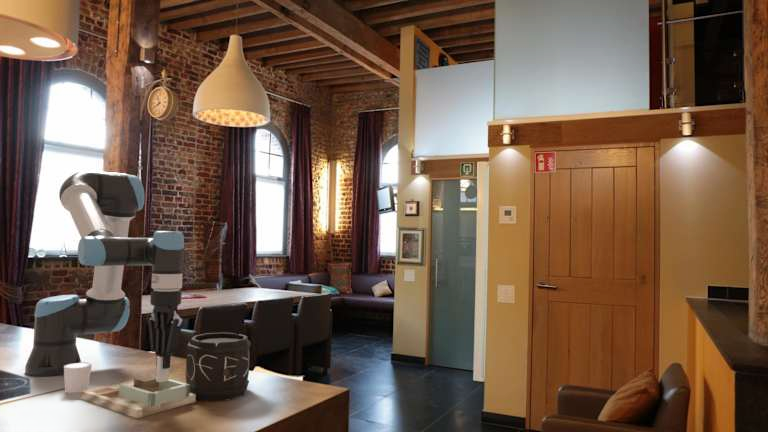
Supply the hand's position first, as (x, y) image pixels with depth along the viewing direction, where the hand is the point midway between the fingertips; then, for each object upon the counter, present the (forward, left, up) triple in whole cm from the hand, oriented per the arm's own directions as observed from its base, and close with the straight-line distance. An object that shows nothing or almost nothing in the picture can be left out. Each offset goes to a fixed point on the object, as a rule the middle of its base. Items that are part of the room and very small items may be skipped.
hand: (162, 380), depth 142 cm
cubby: (-3, 0, -5) cm, 6 cm away
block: (-7, 0, -5) cm, 8 cm away
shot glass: (-30, -6, -7) cm, 32 cm away
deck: (-9, -1, -7) cm, 11 cm away
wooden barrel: (+2, +17, -7) cm, 18 cm away
